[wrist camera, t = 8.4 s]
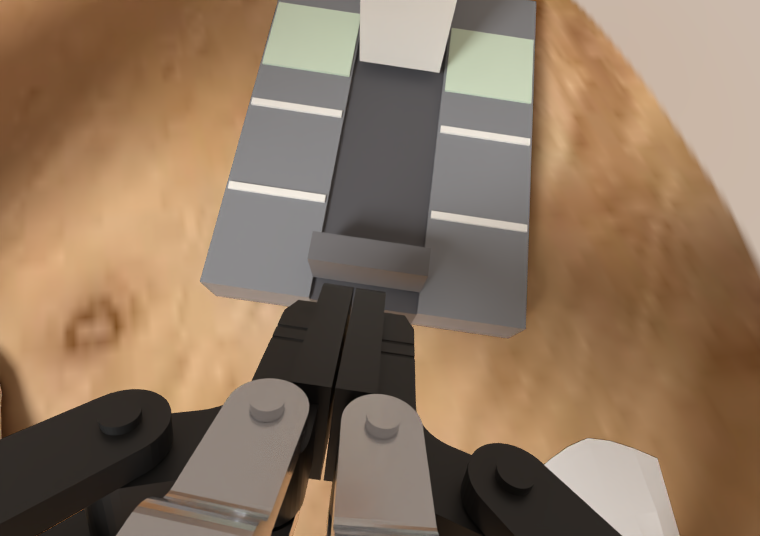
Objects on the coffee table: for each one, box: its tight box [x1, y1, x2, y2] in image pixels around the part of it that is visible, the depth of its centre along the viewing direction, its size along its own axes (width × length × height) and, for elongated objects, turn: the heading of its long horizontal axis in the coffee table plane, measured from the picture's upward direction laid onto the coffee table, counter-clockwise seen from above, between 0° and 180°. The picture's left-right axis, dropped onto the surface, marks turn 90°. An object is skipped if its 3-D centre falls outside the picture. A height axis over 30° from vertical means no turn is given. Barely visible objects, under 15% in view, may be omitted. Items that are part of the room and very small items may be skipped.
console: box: [200, 0, 536, 338], centre depth 19 cm, size 12×16×4 cm
